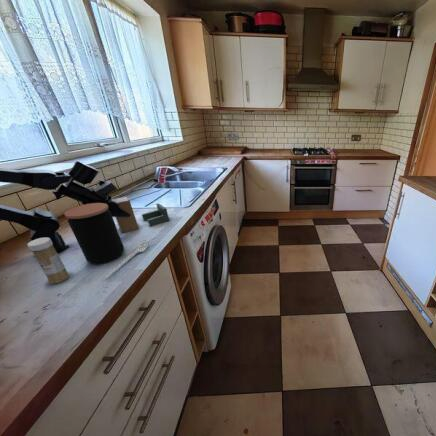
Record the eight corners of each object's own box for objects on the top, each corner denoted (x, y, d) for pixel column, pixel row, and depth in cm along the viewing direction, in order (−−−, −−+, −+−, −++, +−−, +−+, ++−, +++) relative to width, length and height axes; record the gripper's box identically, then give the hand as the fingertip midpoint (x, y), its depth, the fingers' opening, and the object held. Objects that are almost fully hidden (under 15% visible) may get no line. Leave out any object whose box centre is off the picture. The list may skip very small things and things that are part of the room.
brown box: (122, 233, 94) (111, 204, 88) (119, 228, 98) (108, 200, 92) (138, 228, 97) (129, 200, 92) (135, 223, 101) (126, 196, 96)
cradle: (150, 226, 99) (146, 213, 97) (143, 220, 105) (139, 208, 102) (169, 220, 104) (166, 208, 102) (161, 214, 110) (158, 203, 107)
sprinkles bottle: (45, 284, 66) (21, 245, 61) (59, 273, 71) (38, 236, 65) (60, 284, 66) (38, 245, 61) (74, 274, 71) (54, 236, 65)
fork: (101, 279, 68) (99, 274, 68) (143, 243, 86) (142, 239, 85) (111, 279, 68) (109, 274, 67) (152, 244, 86) (150, 239, 85)
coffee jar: (132, 250, 82) (115, 204, 74) (103, 268, 73) (81, 218, 65) (110, 245, 85) (91, 201, 77) (79, 262, 76) (54, 213, 68)
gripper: (101, 180, 79) (145, 202, 91) (91, 171, 90) (131, 191, 102) (81, 208, 77) (128, 226, 89) (73, 195, 88) (116, 212, 100)
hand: (126, 212), depth 95 cm, fingers open, 9 cm apart
